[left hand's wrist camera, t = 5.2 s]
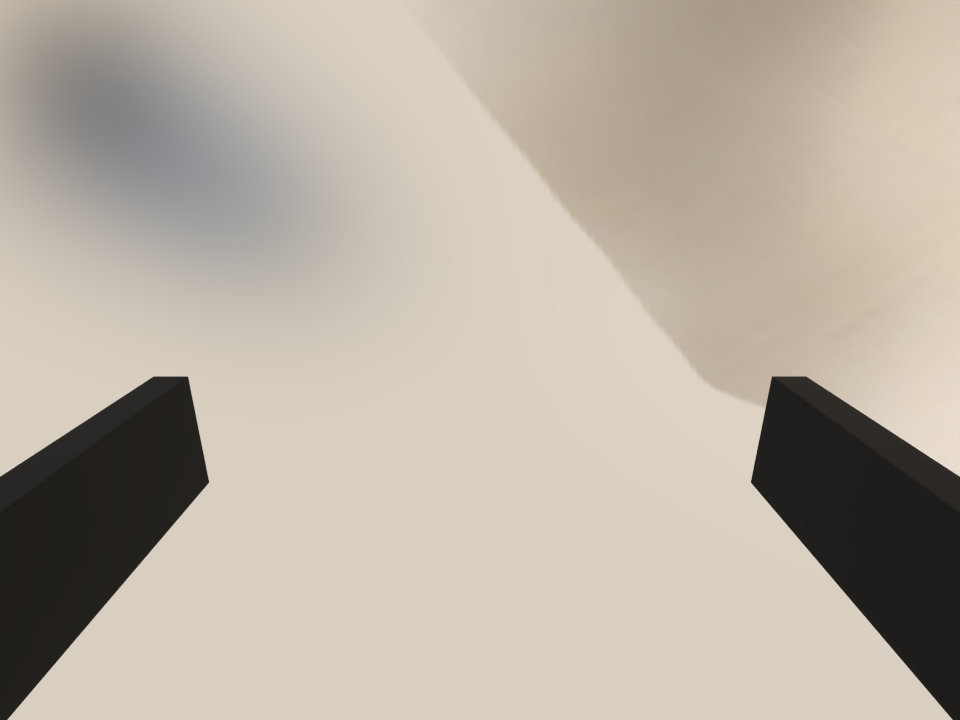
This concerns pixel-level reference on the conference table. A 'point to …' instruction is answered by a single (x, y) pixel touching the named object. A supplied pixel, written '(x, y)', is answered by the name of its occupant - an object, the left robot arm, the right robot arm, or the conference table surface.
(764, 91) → the conference table surface
